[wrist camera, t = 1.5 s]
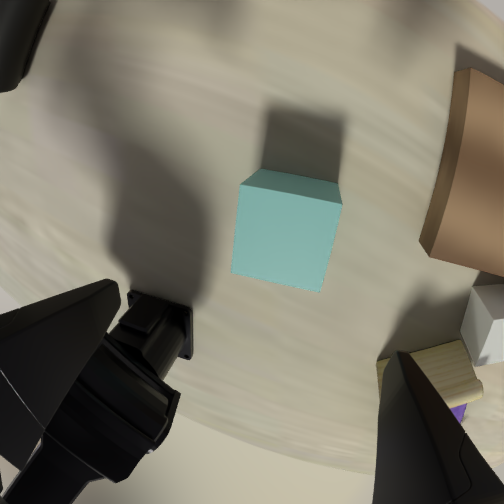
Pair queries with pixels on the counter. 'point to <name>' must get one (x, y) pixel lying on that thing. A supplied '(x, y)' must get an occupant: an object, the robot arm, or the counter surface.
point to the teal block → (285, 228)
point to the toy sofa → (446, 374)
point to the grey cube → (485, 324)
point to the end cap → (17, 37)
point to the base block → (470, 179)
